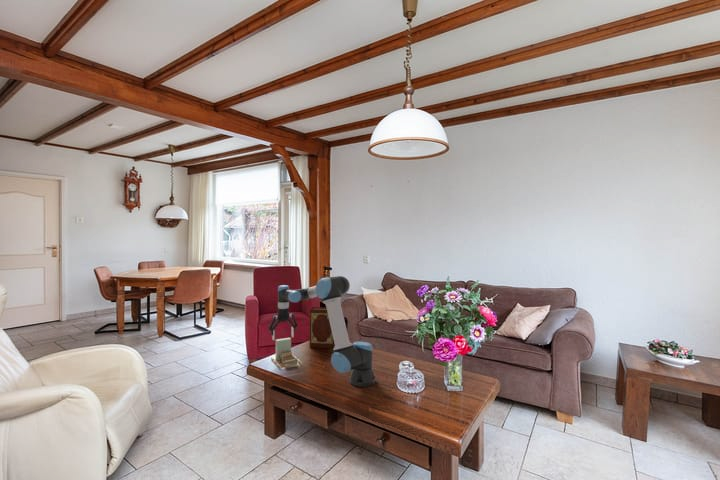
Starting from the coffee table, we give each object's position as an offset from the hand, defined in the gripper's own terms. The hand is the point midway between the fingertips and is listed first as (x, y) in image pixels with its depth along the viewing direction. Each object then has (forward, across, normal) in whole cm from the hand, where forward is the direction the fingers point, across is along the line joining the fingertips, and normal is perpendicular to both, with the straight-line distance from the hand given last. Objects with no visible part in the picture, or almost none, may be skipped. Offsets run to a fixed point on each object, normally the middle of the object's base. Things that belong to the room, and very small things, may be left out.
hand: (283, 338), depth 234 cm
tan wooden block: (+14, 0, +7) cm, 16 cm away
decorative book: (+16, -38, -13) cm, 43 cm away
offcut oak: (+11, 0, +7) cm, 13 cm away
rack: (+16, 0, +7) cm, 17 cm away
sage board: (+15, 0, 0) cm, 15 cm away
